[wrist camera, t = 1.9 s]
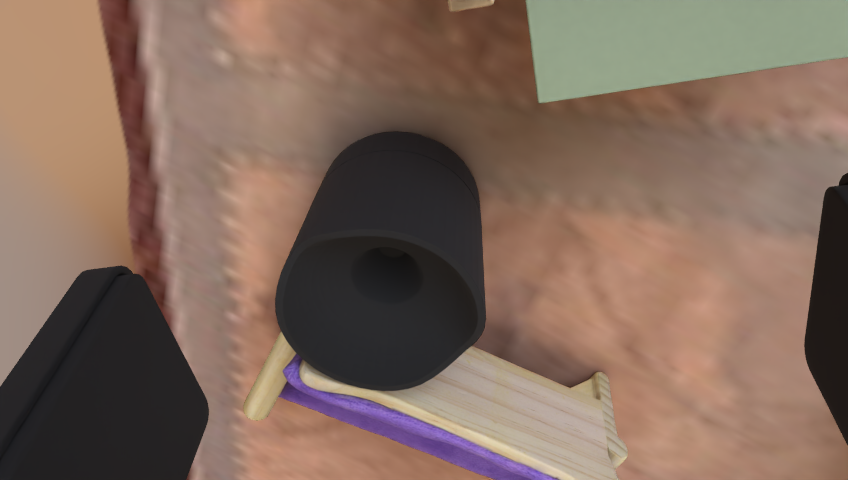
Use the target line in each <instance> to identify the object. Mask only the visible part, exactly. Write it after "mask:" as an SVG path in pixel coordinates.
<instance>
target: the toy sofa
mask: <svg viewBox="0 0 848 480" xmlns="http://www.w3.org/2000/svg"><path fill="white" fill-rule="evenodd" d="M278 397H281V398H283V399H286V400H288V401H291V402H294V403H297V404H300V405H302V406H305V407H308V408H310V409H313V410H316V411H318V412H320V413H323V414H325V415H327V416H330V417H333V418H336V419H338V420H340V421H343V422H346V423H348V424H351V425H354V426H356V427H359V428H361V429H364V430H367V431H370V432H373V433H375V434H379V435H382V436H385V437H387V438H390V439H392V440H394V441H397V442H399V443H401V444H404V445H407V446H409V447H412V448H415V449H418V450H420V451H423V452H426V453H428V454H431V455H434V456H436V457H438V458H441V459H443V460H445V461H448V462H450V463H452V464H455V465H457V466H460V467H463V468H465V469H467V470H470V471H473V472H475V473H477V474H480V475H484V476H487V477H490V478H493V479H496V480H619V479H618V477H617V474H616V471H615V469H616V468H617V467H618V466H619V465H620V464H621V463H622V462H623V461H624V460H625V459H626V458H627V455H628V450H627V447H626V445H625V443H624V442H623V441H622V440H621V439H620V438H619V437H618V436H617V430H616V425H615V419H614V412H613V405H612V399H611V392H610V385H609V379H608V377H607V376H606V375H605V374H604V373H602V372H596V373H595V374H594V375H593V376H592V377H591V378H590V379H589V380H587V381H585V382H582V383H580V384H578V385H576V386H573V387H571V388H569V387H566V386H564V385H561V384H559V383H557V382H554V381H552V380H550V379H547V378H545V377H543V376H540V375H538V374H536V373H533V372H531V371H528V370H526V369H524V368H522V367H519V366H517V365H515V364H512V363H510V362H508V361H506V360H503V359H501V358H499V357H497V356H494V355H492V354H490V353H487V352H485V351H483V350H480V349H477V348H475V347H473V346H471V347H470V348H468V349H467V350H466V351H465V352H464V353H463V354H462V355H461V356H459V357H458V358H457V359H456V360H455V361H454V362H453V363H452V364H450V365H449V366H448V367H447V368H446V369H445V370H443V371H442V372H441V373H439V374H438V375H437V376H435V377H434V378H432V379H430V380H429V381H427V382H425V383H423V384H421V385H419V386H416V387H413V388H410V389H404V390H399V391H377V390H369V389H363V388H358V387H355V386H351V385H348V384H345V383H342V382H339V381H337V380H334V379H332V378H330V377H328V376H326V375H324V374H322V373H321V372H319V371H318V370H316V369H314V368H313V367H312V366H310V365H309V364H308V363H307V362H305V361H304V360H303V359H302V358H301V357H300V356H299V355H298V354H297V353H296V352H295V351H294V350H293V349H292V347H291V346H290V345H289V344H288V342H287V341H286V339H285V337H284V336H283V334H282V332H280V334H279V336H278V338H277V340H276V342H275V344H274V346H273V348H272V350H271V352H270V354H269V355H268V357H267V359H266V361H265V363H264V365H263V367H262V369H261V371H260V373H259V375H258V377H257V379H256V381H255V383H254V385H253V387H252V389H251V391H250V392H249V394H248V396H247V398H246V400H245V402H244V406H243V409H244V414H245V415H246V417H248V418H249V419H252V420H256V421H258V420H263V419H265V418H266V417H268V415H269V413H270V411H271V409H272V408H273V406H274V404H275V402H276V400H277V399H278Z"/></svg>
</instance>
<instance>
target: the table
mask: <svg viewBox="0 0 848 480" xmlns="http://www.w3.org/2000/svg"><path fill="white" fill-rule="evenodd" d="M525 1H526V9H527V18H528V26H529V34H530V42H531V50H532V59H533V67H534V75H535V83H536V92H537V100H538V103H547V102H554V101H560V100H567V99H574V98H580V97H587V96H593V95H600V94H607V93H613V92H620V91H627V90H633V89H640V88H647V87H653V86H660V85H667V84H673V83H680V82H686V81H693V80H700V79H706V78H713V77H720V76H726V75H733V74H740V73H746V72H753V71H760V70H766V69H773V68H780V67H786V66H793V65H799V64H806V63H813V62H819V61H826V60H833V59H839V58H846V57H848V0H525Z"/></svg>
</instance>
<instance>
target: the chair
mask: <svg viewBox="0 0 848 480" xmlns="http://www.w3.org/2000/svg"><path fill="white" fill-rule="evenodd" d="M447 2H448V7H449V10H450V11H451V12H456V11H462V10H467V9H473V8H479V7H485V6H490V5H492V4H494V0H447Z"/></svg>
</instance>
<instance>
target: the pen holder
mask: <svg viewBox="0 0 848 480" xmlns="http://www.w3.org/2000/svg"><path fill="white" fill-rule="evenodd" d="M275 305H276V316H277V321H278V324H279V327H280V329H281V332H282V334H283V336H284V337H285V339H286V341H287V342H288V344H289V345H290V346H291V347H292V349H293V350H294V351H295V352H296V353H297V354H298V355H299V356H300V357H301V358H302V359H303V360H304V361H305V362H307V363H308V364H309V365H310V366H312V367H313V368H314V369H316V370H318V371H319V372H321V373H322V374H324V375H326V376H328V377H330V378H332V379H334V380H337V381H339V382H342V383H345V384H348V385H351V386H355V387H358V388H363V389H369V390H377V391H399V390H404V389H410V388H413V387H416V386H419V385H421V384H423V383H425V382H427V381H429V380H430V379H432V378H434V377H435V376H437V375H438V374H439V373H441V372H442V371H443V370H445V369H446V368H447V367H448V366H449V365H450V364H452V363H453V362H454V361H455V360H456V359H457V358H458V357H459V356H461V355H462V354H463V353H464V352H465V351H466V350H467V349H468V348H470V347H471V346H472V345H473V344H474V343H475V342H476V341H477V340H478V338H479V337H480V336H481V335H482V332H483V330H484V328H485V321H486V310H485V289H484V267H483V247H482V225H481V213H480V200H479V194H478V189H477V186H476V183H475V180H474V178H473V176H472V174H471V172H470V170H469V169H468V167H467V166H466V165H465V163H464V162H463V161H462V160H461V159H460V158H459V157H458V156H457V155H456V154H455V153H454V152H453V151H451V150H450V149H449V148H448V147H446V146H444V145H443V144H441V143H439V142H437V141H435V140H433V139H431V138H428V137H425V136H422V135H419V134H414V133H408V132H385V133H379V134H375V135H371V136H368V137H365V138H363V139H361V140H358V141H357V142H355V143H353V144H352V145H350V146H349V147H347V148H346V149H345V150H344V151H342V152H341V153H340V155H339V156H338V157H337V158H336V159H335V160H334V162H333V163H332V165H331V166H330V168H329V169H328V171H327V173H326V175H325V177H324V180H323V182H322V184H321V186H320V188H319V190H318V192H317V194H316V196H315V198H314V201H313V203H312V205H311V207H310V210H309V212H308V214H307V216H306V218H305V221H304V223H303V225H302V227H301V229H300V232H299V234H298V236H297V238H296V241H295V243H294V245H293V247H292V249H291V252H290V254H289V256H288V258H287V261H286V263H285V265H284V267H283V270H282V272H281V275H280V279H279V282H278V285H277V292H276V298H275Z"/></svg>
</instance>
